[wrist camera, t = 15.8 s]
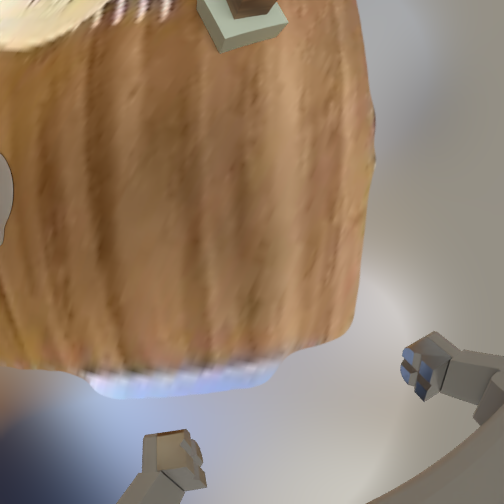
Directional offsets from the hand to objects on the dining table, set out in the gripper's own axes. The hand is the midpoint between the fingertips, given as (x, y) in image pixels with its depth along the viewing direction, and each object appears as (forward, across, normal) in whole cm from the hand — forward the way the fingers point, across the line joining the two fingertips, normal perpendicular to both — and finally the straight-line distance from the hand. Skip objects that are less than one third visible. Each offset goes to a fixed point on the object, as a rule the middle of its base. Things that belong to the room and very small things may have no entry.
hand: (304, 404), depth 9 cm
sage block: (+34, +10, +28) cm, 45 cm away
